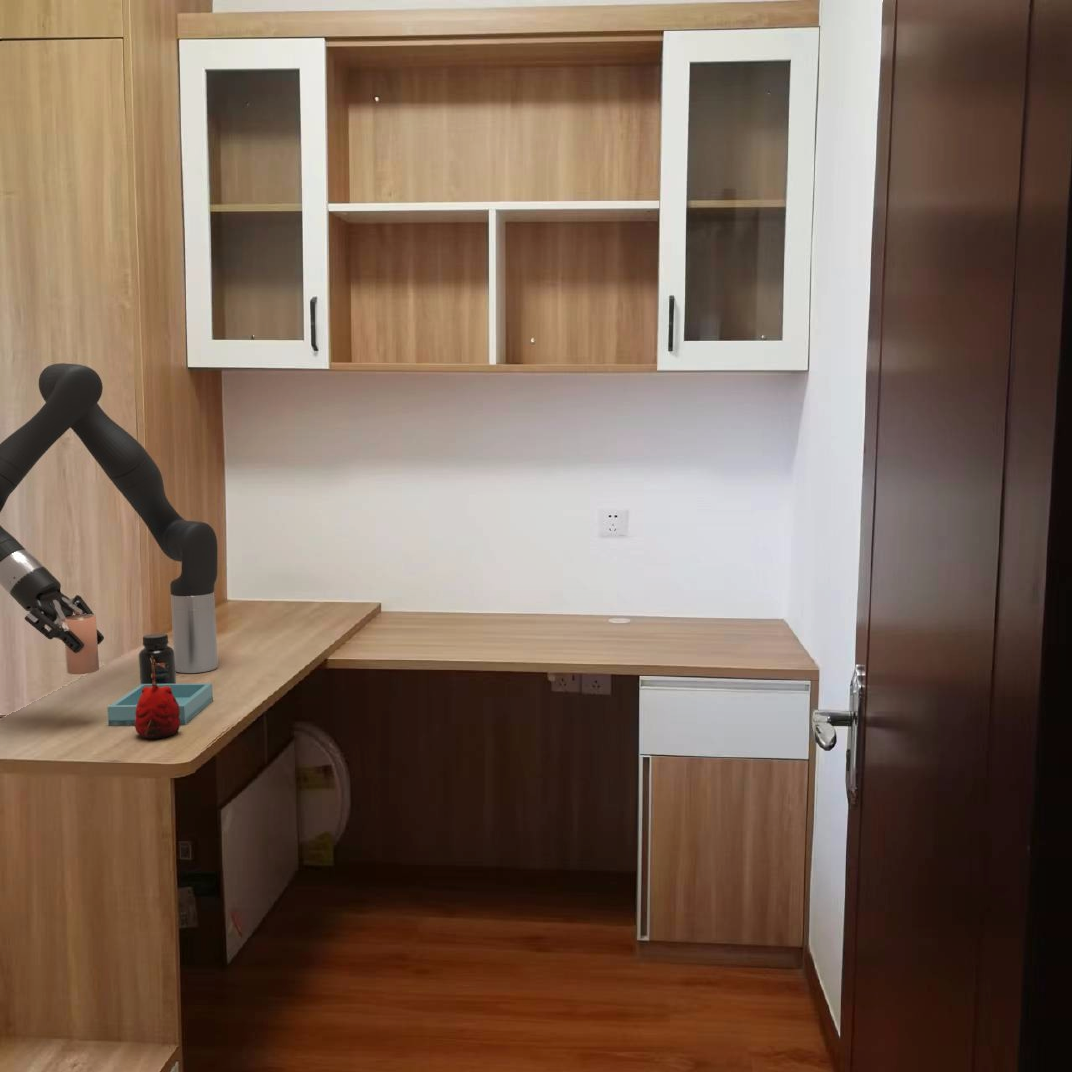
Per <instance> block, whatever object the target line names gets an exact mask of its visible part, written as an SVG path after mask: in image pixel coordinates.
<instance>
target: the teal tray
mask: <svg viewBox="0 0 1072 1072" xmlns="http://www.w3.org/2000/svg"><path fill="white" fill-rule="evenodd" d="M147 686H148V687H152V684H140V685H138V686H136V687H135V688H134V689H132V690H130V691H129V692H127V693H126V694H124V695H123V696H121V697H120V698H118V699H117V700H116V701H114V702H112V703H111V704H110V705H108V706H107V719H108V726H135V719H136V715H135V712H136V707H137V703H138V701H139V698H140V696H141V695H142V689H143V688H144V687H147ZM157 686H158V687H165V686H169V687H170V688H171V689H172V694H173V696H174V697H175V699H176V701H177V703H178V705H179V709H180V715H179V718H180V726H185V725H187V724H188V723H189V722H190V721H192V720H193V719H194V718H195V717H196V716H197V715H198V714H199V713H200V712H202V710H204V709H205V708H207V706H208V705H210V704H211V703H212V702H213V701H214V696H213V695H214V694H213V693H214V692H213V683H211V682H209V683H208V682H206V683H202V682H201V683H195V682H194V683H176V684H157Z"/></svg>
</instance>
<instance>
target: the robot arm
mask: <svg viewBox="0 0 1072 1072" xmlns="http://www.w3.org/2000/svg"><path fill="white" fill-rule="evenodd" d="M103 388H104V387H103V382H102V379H101V377H100V375H99V374H98V372H96V371H95V370H94V369H93V368H92V367H89V366H87V365H82V364H77V363H62V362H61V363H54V364H53V363H52V364H50V365H48V366H46V367H45V368H44V369H43V370H42V371H41V372H40V375H39V379H38V389H39V392H40V395H41V398H42V399H43V401H44V402H45V403H44V405H42V407H41V408H40V409H39V410H38V412H37V413H36V414H34V415H33V416H32V417H31V418H30V419H29V420H28V421H27V422H26V423H24V424H23V425H22V426H20V427H18V429H16V431H14V432H13V433H11V434H10V435H8V436H7V438H5V439H4V440H2V442H0V513H1V512H2V510H3V509H4V507H5V505H6V503H7V500H8V498H9V496H10V495H11V494H12V493H13V492H14V490H16V488H17V487H18V486H19V484H21V482H22V481H23V479H24V478H25V477H26V476H27V475H28V473H30V471H31V470H32V469H33V467H34V466H35V465H36V464H37V463H38V462H39V460H40V459H42V458H41V457H42V456H43V455H45V453H46V452H47V451H48V450H50V448H51V447H52V446H53V445H54V444H55V443H56V442H58V440H59V439H60V438H62V436H63V435H64V434H65V433H66V432H68V430H69V429H71V430H72V431H73V432H74V434H76V436H77V437H78V438H79V439H80V441H81V442H82V444H83V445H84V446H85V448H86V449H87V450H88V452H89V453H90V454H91V456H92V457H93V458H94V460H95V461H96V462H97V463H98V465H99V466H100V467H101V469H102V471H103V472H104V473H105V475H106V476H107V478H109V480H110V481H111V482H112V483H113V484H112V485H114V486H115V488H116V489H117V490H118V491H119V492H120V494H122V496H123V497H124V498H125V499H126V501H127V502H128V504H130V506H131V507H132V508H133V510H134V511H135V512H136V513H137V515H138V516H139V518H141V519H142V521H143V522H144V524H145V525H146V528H147V529H148V530H149V532H150V534H151V535H152V537H153V538H154V540H155V541H156V543H157V545H158V547H159V548H160V550H161V551H162V553H164V555H165V556H166V557H168V559H170V560H172V561H175V562H179V563H181V573H180V575H179V576H178V577H177V578H175V579H173V580H172V581H171V582H170V585H169V586H170V589H169V590H170V606H171V607H170V608H171V626H172V628H171V629H172V642H173V643H172V644H173V645H172V646H173V648H172V649H173V651H174V658H175V673H176V672H177V673H182V674H198V673H205V672H206V673H207V672H210V671H213V670H216V669H217V668H218V665H219V664H218V662H219V661H218V642H217V641H218V640H217V620H216V619H217V618H216V601H215V600H216V599H215V598H216V597H215V585H216V584H215V583H216V581H217V578H218V554H219V553H218V552H219V551H218V550H219V549H218V538H217V534H216V532H215V530H214V528H213V527H212V526H211V525H210V524H208V523H206V522H204V521H203V522H202V521H197V520H195V521H194V520H186V519H184V518H183V517H182V516H181V515H180V514H179V513H178V511H176V510H175V508H174V507H173V505H172V504H171V503H170V501H169V500H168V498H167V495H166V492H165V487H164V480H163V476H162V473H161V470H160V468H159V467H158V465H157V464H156V462H155V460H153V458H152V456H150V455H149V453H148V451H147V450H146V448H145V447H144V446H142V444H141V443H140V442H139V441H137V439H136V438H135V437H133V436H132V435H131V434H130V433H129V432H128V431H126V430H125V429H124V428H123V427H122V426H120V425H119V424H117V422H115V421H114V420H113V419H112V418H111V417H110V416H108V415H107V413H106V412H104V410H103V408H101V406H100V405H99V403H98V402H99V401H100V399H101V397H102V395H103ZM0 586H2V587H3V589H4V590H5V591H6V592H7V593H8V594H9V595H10V596H11V597H12V598H13V599H14V600H15V601H16V602H17V603H18V604H19V606H20V607H22V608H23V610H25V611H26V612H28V613H27V614H26V615H25V617H24V620H25V621H26V622H27V623H28V624H30V626H32V627H33V628H35V629H36V631H38V632H39V633H41V634H42V635H43V636H44V637H46V639H49V640H53V639H56V640H58V641H60V640H61V641H62V642H63V643H64V645H65V644H66V645H67V646H68V647H69V648H70V649H71V650H72V651H73V652H74V653H78V652H80V651H81V649H82V648H83V647H84V643H83V642H82V641H81V640H80V639H79V638H78V637H77V636H76V635H75V634H74V633H73V632H72V631H69V628H68V626H67V624H66V623H65V619H66V617H67V616H71V615H78V614H93V615H95V614H94V613H93V611H92V609H91V607H89V606H88V603H86V601H85V600H84V599H83V597H82V596H80V595H78V594H76V595H75V597H72V598H69V597H68V596H67V595H65V594H64V593H62V591H61V588H62V583H61V582H60V581H59V580H58V579H57V578H56V577H55V576H54V575H53V573H51V572H50V571H49V570H48V569H47V568H46V567H45V565H43V564H42V563H41V561H39V560H38V559H37V558H36V556H34V555H33V554H32V553H30V552H29V551H28V550H27V549H26V548H25V546H23V545H22V544H21V543H20V542H19V541H18V540H17V538H15V537H14V536H13V535H12V534H10V532H8V531H7V530H6V529H4V527H3V526H2V525H1V524H0ZM46 627H47V628H48V629H47V628H46ZM68 631H69V632H68ZM104 639H105V637H104V635H103V634H102V633H101V632H100V631H99V630H98V629H97V642H98V646H99V645H100V644H101V643H102V642H103V641H104Z"/></svg>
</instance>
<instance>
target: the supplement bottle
mask: <svg viewBox="0 0 1072 1072" xmlns="http://www.w3.org/2000/svg"><path fill="white" fill-rule="evenodd" d="M142 646H143V648H142V649H141V650H140V651H139V652H138V666H139V681H140V685H141V684H152V682H153V679H152V678H151V674H152V673H153V672H152V666H151V660H150V658H151V656H153V660H155V663H157V664H158V663H159V664H161V663H165V668H163V667H160V666H155V681H156V684H177V675H176V671H175V658H174V648H172V647H170V646H169V635H168V634H167V633H151V634H146V635H143V636H142Z"/></svg>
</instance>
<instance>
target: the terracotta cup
mask: <svg viewBox="0 0 1072 1072" xmlns="http://www.w3.org/2000/svg"><path fill="white" fill-rule="evenodd" d="M93 614H94V613H93ZM93 614H86V613H85V614H78V615H75V614H73V615H71V616H67V617H66V619H65V623H66V624H67V626H68V628H69V631H72V632H73V633H74V634H75V635H76V636H77V637H78V638H79V639H80V640H81V641H82V642H83V643H84V647H83V648H82V649H81V651H80V652H78V653H74V652H73V651H72V650H71V649H70V648H69V647H68V646H67V645H66V644H65V643H64V646H65V659H66V660H65V661H66V673H67V674H69V675H86V674H91V673H95V672H98V671H99V670H100V660H99V659H100V658H99V657H100V656H99V645H98V642H97V630H98V629H97V618H96V617H97V616H96V614H94V615H93ZM69 631H68V632H69Z"/></svg>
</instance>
